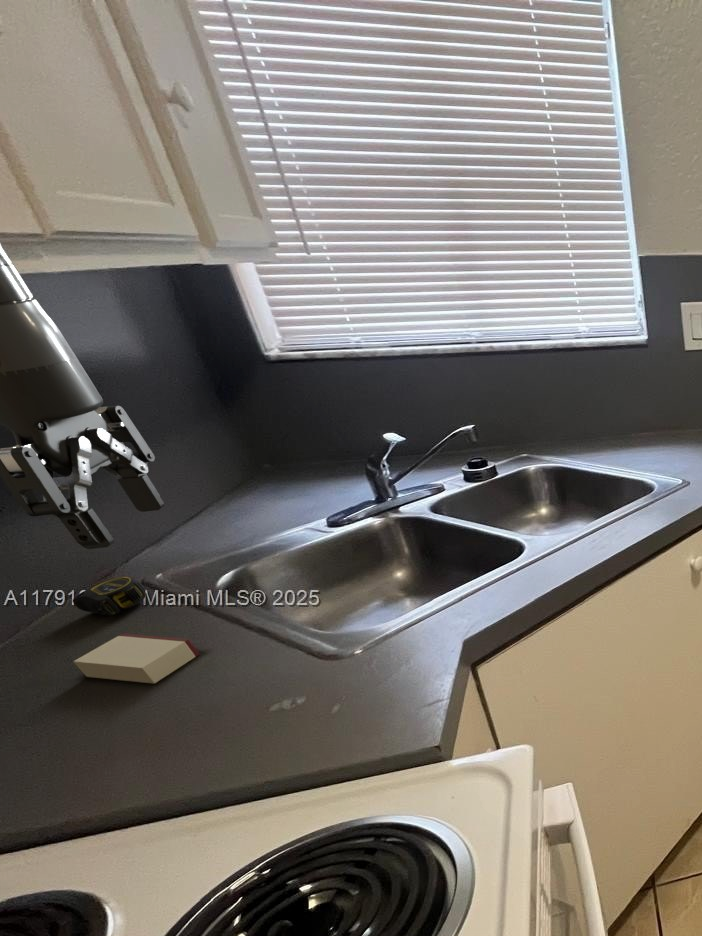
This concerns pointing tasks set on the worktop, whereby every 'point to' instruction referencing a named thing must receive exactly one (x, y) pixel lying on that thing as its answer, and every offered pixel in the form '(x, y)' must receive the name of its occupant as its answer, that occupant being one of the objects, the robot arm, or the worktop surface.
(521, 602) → the worktop surface
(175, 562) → the worktop surface
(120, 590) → the tape measure
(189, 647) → the pocket book
